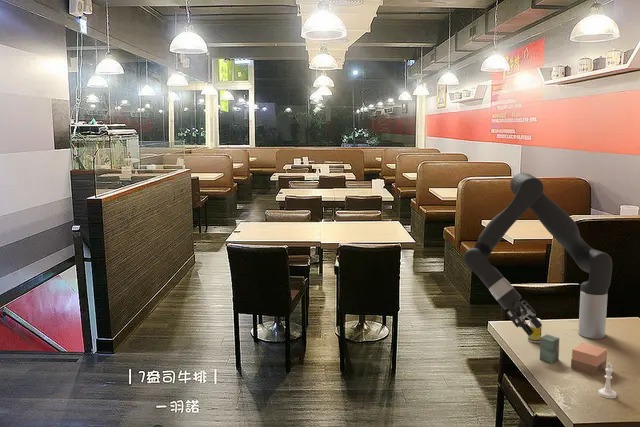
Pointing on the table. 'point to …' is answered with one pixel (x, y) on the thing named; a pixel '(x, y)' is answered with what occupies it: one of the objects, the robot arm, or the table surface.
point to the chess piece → (607, 385)
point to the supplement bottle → (537, 332)
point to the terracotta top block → (589, 354)
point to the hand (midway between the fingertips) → (535, 330)
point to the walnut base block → (588, 367)
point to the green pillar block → (549, 348)
